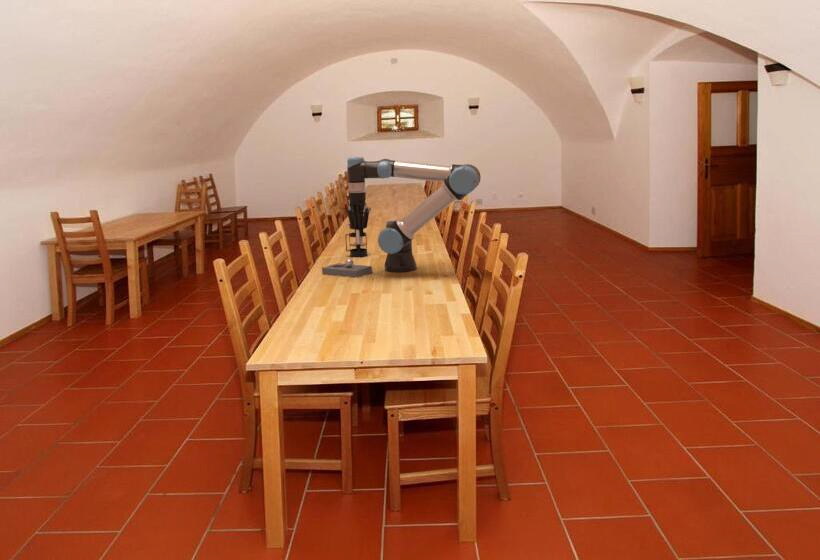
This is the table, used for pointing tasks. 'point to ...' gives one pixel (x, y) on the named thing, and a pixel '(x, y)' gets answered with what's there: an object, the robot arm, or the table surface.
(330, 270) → the plate
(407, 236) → the robot arm
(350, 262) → the ball
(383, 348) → the table surface
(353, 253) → the french press
